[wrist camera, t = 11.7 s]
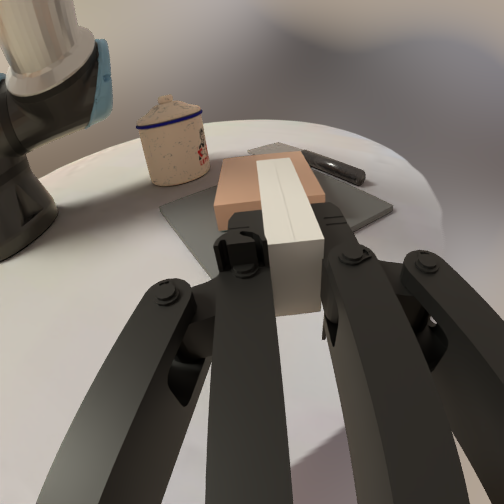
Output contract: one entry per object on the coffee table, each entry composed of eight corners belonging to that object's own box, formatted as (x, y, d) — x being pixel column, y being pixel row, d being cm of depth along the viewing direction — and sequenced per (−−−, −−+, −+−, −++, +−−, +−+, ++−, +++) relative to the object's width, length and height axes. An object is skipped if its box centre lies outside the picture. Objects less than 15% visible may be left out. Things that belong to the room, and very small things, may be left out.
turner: (375, 179, 32) (376, 165, 31) (342, 192, 30) (342, 176, 29) (278, 144, 47) (277, 133, 46) (247, 152, 45) (246, 141, 43)
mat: (225, 296, 20) (223, 290, 19) (160, 211, 31) (159, 206, 31) (392, 210, 26) (393, 205, 26) (292, 165, 38) (292, 161, 37)
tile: (325, 194, 23) (300, 151, 33) (213, 205, 23) (223, 158, 33) (324, 222, 25) (301, 171, 34) (219, 233, 25) (226, 179, 35)
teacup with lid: (219, 175, 38) (204, 88, 31) (151, 194, 36) (129, 107, 29) (201, 154, 47) (189, 87, 40) (148, 168, 45) (133, 101, 38)
